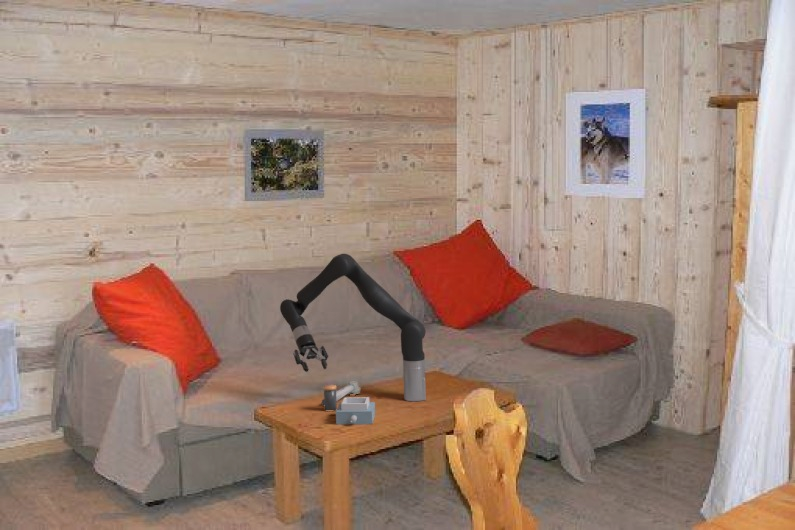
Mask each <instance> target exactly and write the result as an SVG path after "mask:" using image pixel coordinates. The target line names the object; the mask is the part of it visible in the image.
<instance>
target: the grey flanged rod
mask: <svg viewBox="0 0 795 530" xmlns="http://www.w3.org/2000/svg"><path fill="white" fill-rule="evenodd" d="M361 389H362V388H361V386H359V382H358V380H352V381H350V382H349V384H348V385H345V386H344V387H342V388H340V389H338V390H336V400H337V402H338V401H339V400H341V399H343V398H344V397H346V395H349V393H350V394H358V393H360V394H361ZM321 405H322V406H323V405H324V398H323V399H322V400H321Z"/></svg>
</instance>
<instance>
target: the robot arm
mask: <svg viewBox="0 0 795 530" xmlns="http://www.w3.org/2000/svg"><path fill="white" fill-rule="evenodd" d="M342 277H345V278H347V279H348V280H350V282H352V284H354V286H355V287H356V288H357V289H358V292H359V293H360V295H361V297H362V298H363V300H364V301H365V302H366V303H367V304H368V305H369V306H370V307H371V308H372V309H373V310H374V311H376V312H377V313H378V314H380V315H381V316H383V317H384V318H386V319H389V320H390V321H392V322H393V323H394V324H395V325H396V326H397V327H399V329H400V350H401V355H402V369H403V371H402V372H403V376H402V377H403V399H404V400H405V401H408V402H421V401H426V399H427V398H426V397H427V394H426V391H427V390H426V385H427V384H426V367H425V365H426V363H425V362H426V361H425V356H426V355H425V351H424V350H423V349H424V347H423V339H424V338H425V336H426V328H425V325H424V324H423V323H422V322H421V321H420V320H419V319H417V318H416V317H414V316H413V315H412V314H410V312H408V311H406V309H405V308H403V307H402V305H401V304H400V303H399V302H397V300H396V299H395V298H393V296H392V295H390V293H389V292H388V291H386V290H385V289H384V288H383V286H381V285H380V284H379V283H378V282H376V280H375V279H373V277H371V276H370V274H368V273H367V272H366V271H365V270H364V269H363V268H362V266H361V265H360V264H359V263H358V262H357V261H356V259H354V258H353V256H351V255H350V254H347V253H340V254H338V255H336V256H334V257H332V259H331V260H330V261H329V262H328V264H327V265H326V266H325V268H324V269H322V271H321V272H320V273H319V274H318V275H317V276H316V277H314V278H313V279H312V280H311V281H310V282H308V283H307V284H306V285H304V286H303V287H302V288H301V290H299V291H298V292H297V293H296V299H297V300H296V301H295V300H291V299H289V298H288V299H283V300H281V303H280V306H279V310H280V314H281V315H282V317H283V319H284V320H285V321H286V323H287V324H288V326H289V328H290V330H291V332H292V336H293V339H294V341H295V343H296V346H297V348H298V349H294V352H293V358H294V361H295V363H296V365H301V368H302V369H303V371H304V372H305V373H307V372H309V370H310V369H309V366H308V364H307V362H306V360H311V359H315V360H316V361H317V360H318V361H320V362H321V366H322V368H323V370H326V369H327V367H328V363H327V360H328V359H329V355H328V353H327V350H326V348H325V347H324V346H323V345H321V347H318V346H317V345H316V342H315V340H314V337H313V334H312V332H311V330H310V328H309V326H308V325H307V322H306V320H305V318H304V317H303V316H302V315H303V314H304V313H305V311H306V310H307V308H308V307H309V305H310V304H311V303H312V302H313V301H315V299H317V298H318V297H319V296H320V295H321V294H322V293H323V292H324V291H325V290H326V288H327V287H328V286H329V285H330V284H332V283H333V282H335V281H337V280H338V279H340V278H342ZM300 355H301V356H302V359H301V356H300Z"/></svg>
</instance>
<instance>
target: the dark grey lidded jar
mask: <svg viewBox="0 0 795 530" xmlns="http://www.w3.org/2000/svg"><path fill="white" fill-rule="evenodd" d="M322 387H323V397H324V398H323V399H324V405H325V407H324V411H325V410H336V409H337V408H338V406H337V405H338V401H337V400H336V391H337V385H336V384H326V385H323V386H322Z"/></svg>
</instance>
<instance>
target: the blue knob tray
mask: <svg viewBox="0 0 795 530" xmlns="http://www.w3.org/2000/svg"><path fill="white" fill-rule="evenodd" d="M375 416H376V402H375V401H370V396H367V397H365V396H364V397H362V396H360V397H358V396H349V397H347V396H344V397H343V398H342V401H341V402H339V404H338V406H337V410H336V411H335V424H336V425H373V424H374V423H373V422H374V419H375Z"/></svg>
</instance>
